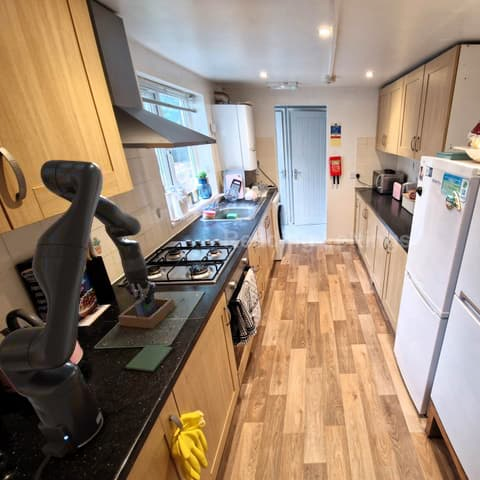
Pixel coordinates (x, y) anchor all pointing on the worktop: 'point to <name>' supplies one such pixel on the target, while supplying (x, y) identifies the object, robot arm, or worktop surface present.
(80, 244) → the robot arm
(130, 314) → the brown wooden tray
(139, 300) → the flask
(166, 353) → the mat
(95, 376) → the worktop surface
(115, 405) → the worktop surface
